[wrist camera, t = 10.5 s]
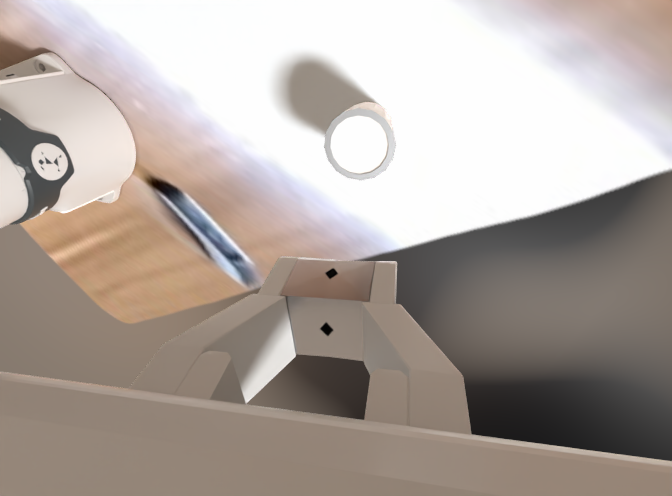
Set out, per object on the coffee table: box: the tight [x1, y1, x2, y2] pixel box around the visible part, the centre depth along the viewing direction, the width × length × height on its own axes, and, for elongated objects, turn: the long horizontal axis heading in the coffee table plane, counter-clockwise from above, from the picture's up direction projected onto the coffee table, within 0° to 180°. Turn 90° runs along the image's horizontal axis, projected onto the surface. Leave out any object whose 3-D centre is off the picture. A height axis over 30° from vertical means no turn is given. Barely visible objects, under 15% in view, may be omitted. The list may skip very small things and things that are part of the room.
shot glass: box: [324, 102, 396, 180], centre depth 36 cm, size 7×7×7 cm
